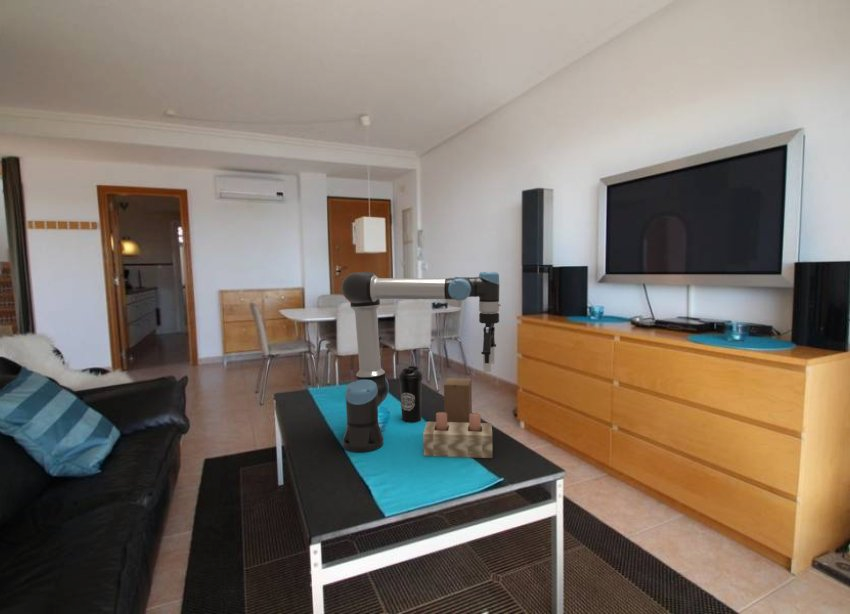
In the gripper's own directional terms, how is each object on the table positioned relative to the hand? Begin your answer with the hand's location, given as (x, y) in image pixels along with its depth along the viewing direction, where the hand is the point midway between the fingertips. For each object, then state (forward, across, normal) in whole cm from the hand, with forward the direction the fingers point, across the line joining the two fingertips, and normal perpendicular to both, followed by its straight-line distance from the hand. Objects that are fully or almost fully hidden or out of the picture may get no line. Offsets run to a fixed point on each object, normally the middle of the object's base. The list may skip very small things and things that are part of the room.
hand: (489, 367), depth 169 cm
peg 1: (+22, -16, +15) cm, 32 cm away
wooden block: (+28, +4, +13) cm, 31 cm away
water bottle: (+28, +12, +35) cm, 46 cm away
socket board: (+27, -15, +9) cm, 33 cm away
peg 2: (+22, -15, +3) cm, 27 cm away
